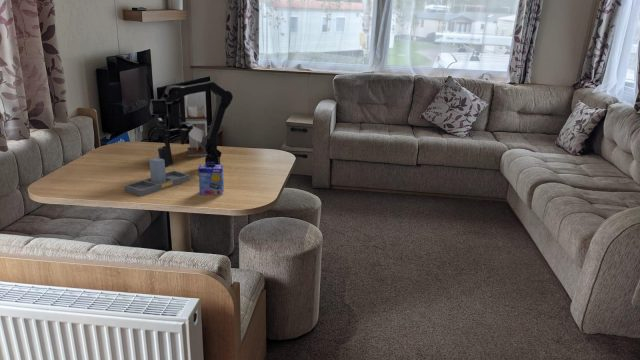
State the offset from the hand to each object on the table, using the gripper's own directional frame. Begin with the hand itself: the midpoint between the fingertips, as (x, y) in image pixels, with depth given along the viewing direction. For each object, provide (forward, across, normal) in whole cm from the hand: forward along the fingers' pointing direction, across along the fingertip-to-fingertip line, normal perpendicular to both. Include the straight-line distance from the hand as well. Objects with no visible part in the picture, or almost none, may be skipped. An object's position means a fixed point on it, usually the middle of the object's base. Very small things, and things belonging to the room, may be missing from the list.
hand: (175, 146), depth 233 cm
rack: (+13, +17, +7) cm, 23 cm away
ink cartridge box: (+13, +11, +33) cm, 37 cm away
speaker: (+13, -6, -14) cm, 21 cm away
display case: (+13, -31, -16) cm, 37 cm away
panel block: (+12, +17, +7) cm, 22 cm away
